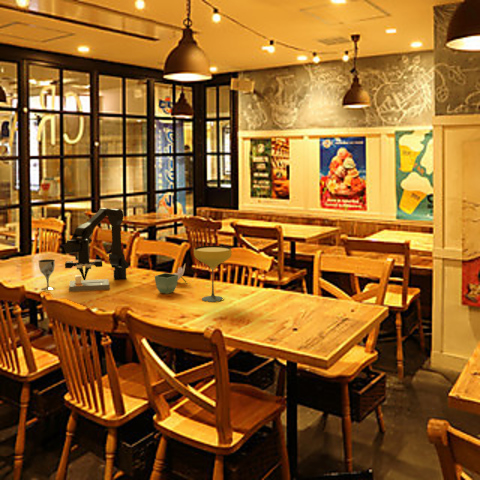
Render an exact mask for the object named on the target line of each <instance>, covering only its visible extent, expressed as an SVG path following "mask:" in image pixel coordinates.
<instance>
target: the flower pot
mask: <svg viewBox="0 0 480 480" xmlns="http://www.w3.org/2000/svg"><path fill="white" fill-rule="evenodd" d="M154 281H155V286H156V288H157V291H158V292H159V293H161V294H167V295H168V294H171V293H174V291H175V290H176V288H177V287H178V286H177V285H178V282H179V280H178V275H175V274H173V273H168V272H163V273H159V274H156V275H154Z"/></svg>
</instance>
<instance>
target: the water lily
mask: <svg viewBox="0 0 480 480" xmlns="http://www.w3.org/2000/svg"><path fill="white" fill-rule="evenodd" d="M185 268H186V264H184V265H183V266H181V267H178V269H177V272H174V273H172V274H175V275H178V281H179V280H180V279H182V280H183V281H184V283H186V282H187V280H185V279H184V277H183V275H184V273H185Z"/></svg>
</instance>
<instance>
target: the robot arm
mask: <svg viewBox="0 0 480 480" xmlns="http://www.w3.org/2000/svg"><path fill="white" fill-rule="evenodd" d="M106 217H107V219H108V222H109V223H110V225H111V247H112V248H111V249H112V250H111V252H110V253H108V262H109V264H110V266H111V268H112V269H114V270H113V278H114V280H116V281H119V280H127V269H129V267H130V264H129V263H128V261H127V260H126V256H125V253H124V252H123V249H122V233H121V231H122V229H121V228H122V227H121V226H122V225H121V224H122V223H123V221H124V211H123V210H122V209H121V208H119V209H118V208H107V207H100V208H99V210H98V211H97V212H96V213H95V214H94V215H92V217H91V218H89V219H88V220H87V221H86V222H85V223H83V224H82V223H81V224H79V226H77V227H76V228H75V229H74V233H73V235H72V236H71V239H67V240H66V242H65V244H64V245H63V249H64V252H65V253H66V254H69V255H70V254H74V253H75V255H74V256H75V261H77V262H74V261H73V260H70V261H68V260H67V261H65V262H64V268H65V269H72V268H74V267H76V270H78V271H79V273H80V275H81V278H82V280H87V275H88V273H89V270H92V266H94V267H96V268H102V267H103V260H102V259H95V260H93V261H90V247H89V246H90V242H92V241H93V240H92V239H91V238H90V237H91V235H92V233H93V231H94V229H95V228H97V225H99V224H100V223H101V222H102V221H103V220H104V219H105V218H106ZM84 266H85V267H84ZM84 268H85V269H84Z"/></svg>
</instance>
